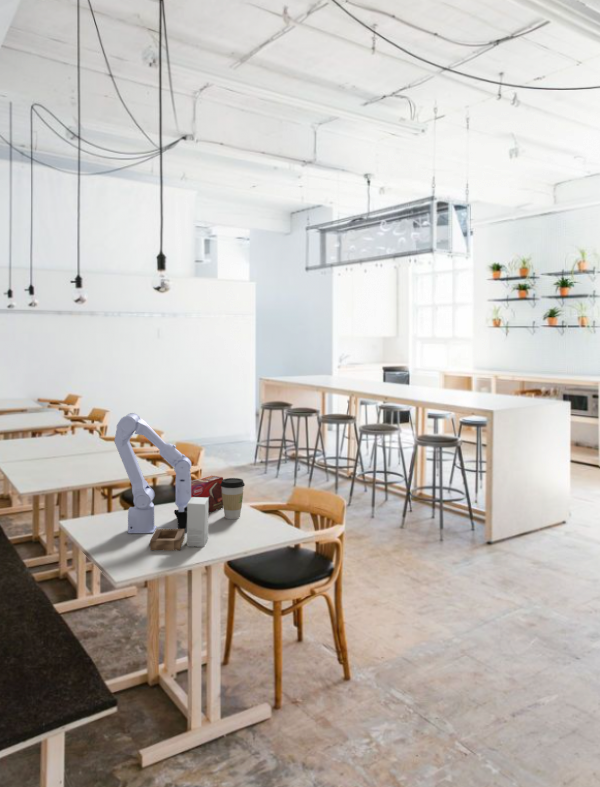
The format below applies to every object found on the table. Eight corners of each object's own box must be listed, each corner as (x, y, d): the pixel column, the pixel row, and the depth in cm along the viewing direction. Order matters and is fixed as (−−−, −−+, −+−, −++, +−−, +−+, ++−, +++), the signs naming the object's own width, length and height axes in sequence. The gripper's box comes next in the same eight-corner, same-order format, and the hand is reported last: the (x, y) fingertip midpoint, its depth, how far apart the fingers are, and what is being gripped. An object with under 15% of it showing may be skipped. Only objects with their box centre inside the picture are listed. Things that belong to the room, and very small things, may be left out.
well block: (150, 550, 216) (150, 540, 216) (156, 538, 229) (156, 528, 229) (179, 550, 217) (179, 540, 217) (184, 538, 230) (184, 528, 230)
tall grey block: (177, 531, 237) (177, 516, 237) (178, 528, 241) (178, 513, 241) (188, 531, 237) (188, 516, 237) (189, 528, 241) (189, 513, 241)
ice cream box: (211, 505, 273) (211, 475, 272) (223, 508, 270) (223, 477, 269) (179, 516, 257) (179, 484, 255) (191, 519, 253) (191, 486, 252)
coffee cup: (249, 516, 259) (249, 479, 257) (234, 521, 250) (234, 484, 249) (230, 512, 264) (230, 476, 263) (215, 517, 256) (215, 481, 254)
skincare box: (191, 539, 229) (191, 496, 228) (209, 539, 229) (209, 497, 227) (186, 546, 221) (186, 502, 219) (205, 547, 220) (205, 503, 219)
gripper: (192, 494, 231) (192, 531, 232) (196, 485, 245) (196, 519, 247) (172, 495, 230) (172, 531, 232) (177, 485, 245) (178, 519, 246)
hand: (183, 525), depth 239 cm, fingers open, 7 cm apart
